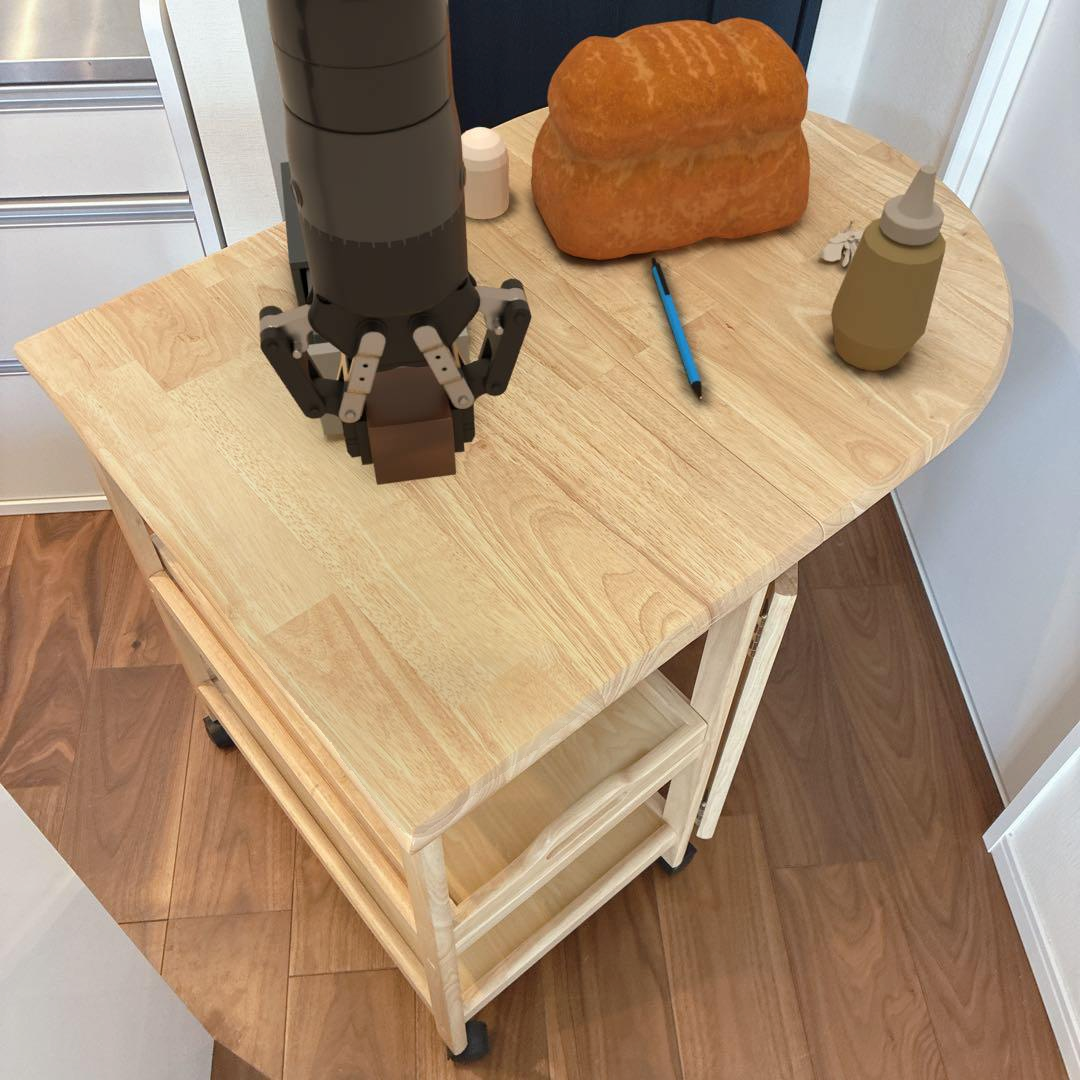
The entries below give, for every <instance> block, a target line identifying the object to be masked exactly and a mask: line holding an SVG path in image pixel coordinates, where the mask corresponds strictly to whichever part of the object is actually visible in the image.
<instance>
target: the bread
mask: <svg viewBox="0 0 1080 1080" xmlns="http://www.w3.org/2000/svg"><path fill="white" fill-rule="evenodd" d="M809 87H810V85H809V82H808V78H807V74H806V71H805V68H804V66H803V64H802V62H801V60H800V58H799V57H798V55H797V54H796V53H795V51H794V50H793V49H792V48H791V47H790V46H789V45H788V43H786V41H785V40H784V39H783V37H781V36H780V35H779V34H778V33H777V32H776V31H774V30H773V29H772V28H771V27H770V26H768V25H766V24H765V23H763V22H762V21H759V20H755V19H750V18H746V17H745V18H744V17H739V16H738V17H734V18H729V19H725V20H722V21H719V22H718V23H715V24H713V23H710V22H707V21H704V20H695V19H683V20H676V21H675V20H674V21H666V22H660V23H653V24H644V25H640V26H638V27H634V28H632V29H629V30H627V31H625V32H623V33H621V34H620V35H619V34H618V36H615V37H609V36H608V37H607V36H598V35H593V36H588V37H586V38H585V39H583V40H581V41H580V42H579V43H577V44H576V45H575V46H574V47H573V48H572V49H571V50H570V51H569V52H568V54H567V55H566V56H565V57H564V58H563V60H562V62H561V63H560V64H559V65H558V66H557V68H556V70H555V71H554V73H553V74H552V75H551V80H550V82H549V85H548V88H547V105H548V112H549V113H548V115H547V117H546V118H545V120H544V122H543V123H542V125H541V127H540V128H539V131H538V134H537V136H536V138H535V140H534V145H533V149H532V154H531V177H530V185H531V187H530V188H531V192H532V197H533V201H534V203H535V205H536V207H537V209H538V211H539V213H540V216H541V217H542V220H543V221H544V223H545V226H546V227H547V229H548V231H549V232H550V235H551V236H552V238H553V240H554V242H555V244H556V247H557V248H558V249H559V250H561V251H562V252H564V253H565V254H568V255H570V256H573V257H577V258H584V259H591V260H598V261H601V260H610V259H618V258H622V257H626V256H628V255H633V254H647V253H651V252H652V253H653V252H655V251H663V250H671V249H676V248H680V247H684V246H688V245H691V244H694V243H697V242H700V241H702V240H704V239H707V238H709V237H710V238H719V239H721V238H722V239H740V238H745V237H748V236H753V235H756V234H757V235H758V234H760V233H766V232H769V231H774V230H778V229H782V228H786V227H788V226H790V225H793V224H794V223H795V222H797V221H798V220H799V219H800V218H802V216H803V215H804V213H805V212H806V211H807V207H808V204H809V197H810V195H809V194H810V177H811V160H810V153H809V147H808V142H807V140H806V139H807V138H806V137H805V134H804V132H803V128H802V122H804V120H805V117H806V114H807V111H808V105H809V104H808V101H809Z"/></svg>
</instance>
